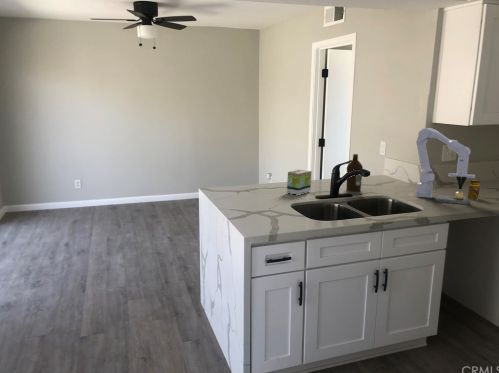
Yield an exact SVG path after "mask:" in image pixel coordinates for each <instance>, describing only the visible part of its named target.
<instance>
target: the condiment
mask: <svg viewBox="0 0 499 373" xmlns="http://www.w3.org/2000/svg"><path fill="white" fill-rule="evenodd" d="M469 181H470V182H469V184H468V192H467V196H465V195H463V197H468V200H470V199H472V200H473V201H478V200H477V199H478V198H479V193H480V180H479V179H470V180H469ZM472 200H471V201H472Z"/></svg>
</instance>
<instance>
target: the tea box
mask: <svg viewBox="0 0 499 373" xmlns="http://www.w3.org/2000/svg"><path fill="white" fill-rule="evenodd" d="M286 181H287V182H286V194H287V193H291V194H290V195H292V194H296V195H295V196H298V195H299V196H302V195H304V193H305V194H308V193H307V192H309V191H310V192H311V190H312V189H311V188H312V186H311V185H312V171H311V170H306V169H295V170H292V171H287V180H286ZM310 192H309V193H310ZM301 194H302V195H301Z"/></svg>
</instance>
